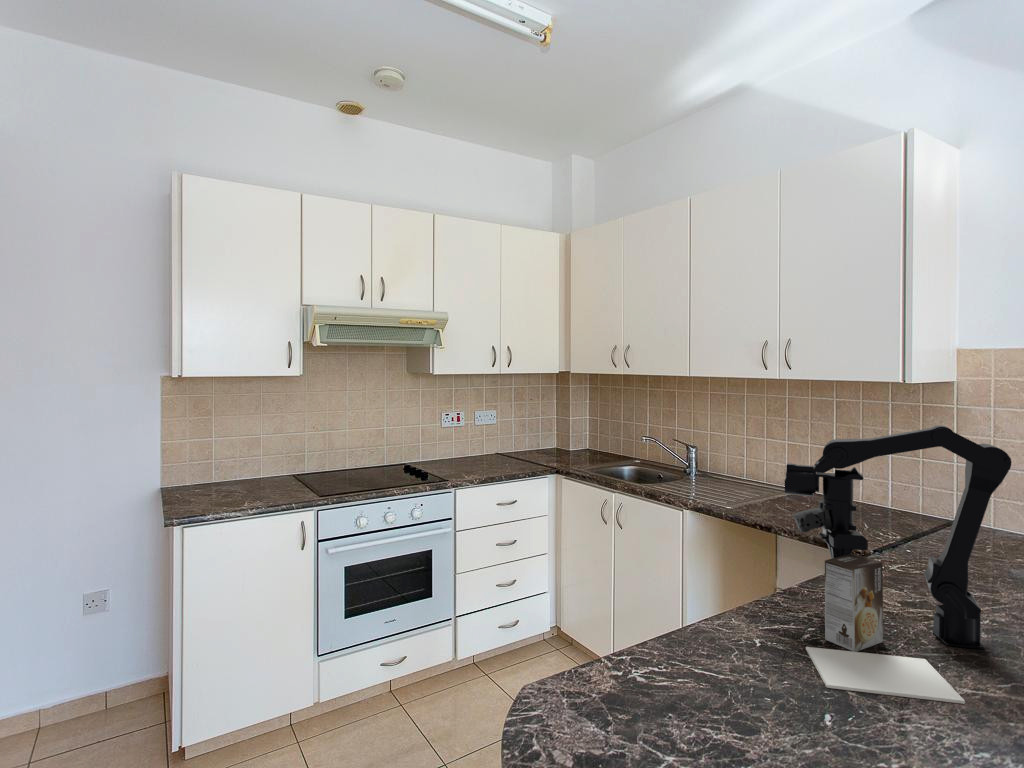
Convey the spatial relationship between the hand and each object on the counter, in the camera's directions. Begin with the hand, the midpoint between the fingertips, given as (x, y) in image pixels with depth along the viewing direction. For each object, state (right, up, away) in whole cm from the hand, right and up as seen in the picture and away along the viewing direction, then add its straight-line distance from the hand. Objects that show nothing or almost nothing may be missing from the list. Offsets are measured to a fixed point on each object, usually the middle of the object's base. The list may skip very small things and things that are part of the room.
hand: (837, 570), depth 124 cm
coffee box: (-3, -11, -10) cm, 15 cm away
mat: (-6, -11, -23) cm, 26 cm away
